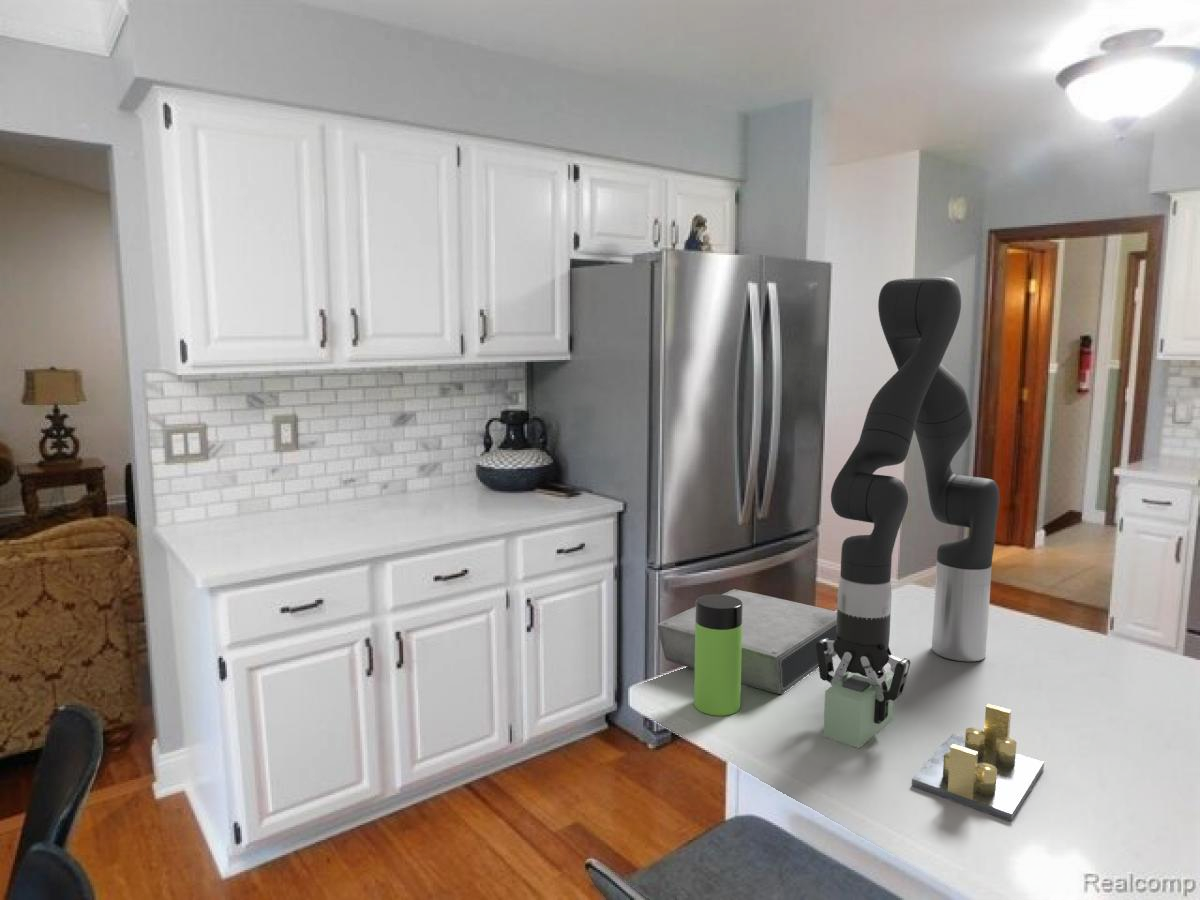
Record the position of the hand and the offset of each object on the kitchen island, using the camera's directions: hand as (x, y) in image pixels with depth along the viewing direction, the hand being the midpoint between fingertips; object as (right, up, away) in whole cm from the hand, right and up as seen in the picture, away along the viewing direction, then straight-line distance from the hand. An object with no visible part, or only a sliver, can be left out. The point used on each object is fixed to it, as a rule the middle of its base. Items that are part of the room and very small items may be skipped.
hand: (858, 715), depth 121 cm
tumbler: (-20, -1, +7) cm, 22 cm away
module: (0, -2, 0) cm, 2 cm away
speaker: (-10, +1, +28) cm, 30 cm away
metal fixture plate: (+12, -4, -14) cm, 18 cm away
